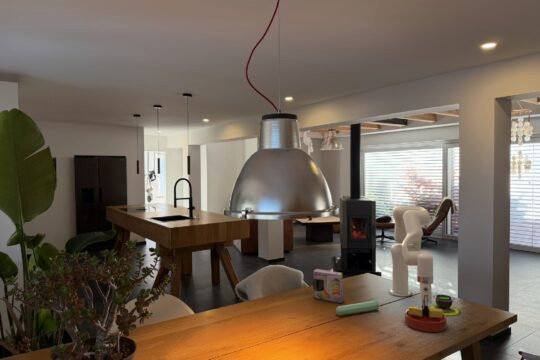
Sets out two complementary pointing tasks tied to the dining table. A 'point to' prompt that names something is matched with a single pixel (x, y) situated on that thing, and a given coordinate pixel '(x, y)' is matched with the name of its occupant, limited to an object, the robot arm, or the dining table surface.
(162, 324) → the dining table surface
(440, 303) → the toy cauldron
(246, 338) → the dining table surface
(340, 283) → the cake pan box
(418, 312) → the banana
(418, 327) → the bowl
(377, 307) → the pale green faceted rod
